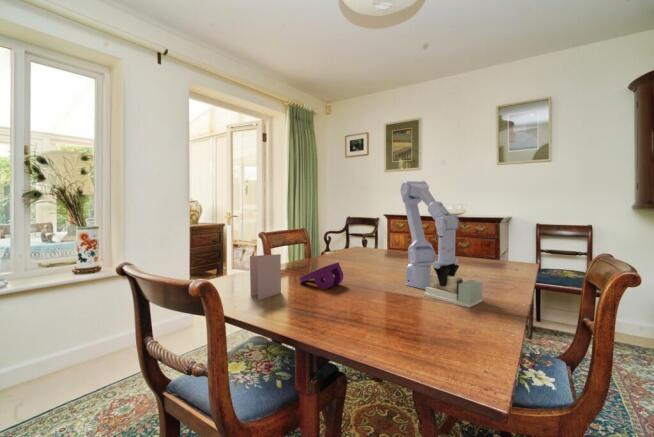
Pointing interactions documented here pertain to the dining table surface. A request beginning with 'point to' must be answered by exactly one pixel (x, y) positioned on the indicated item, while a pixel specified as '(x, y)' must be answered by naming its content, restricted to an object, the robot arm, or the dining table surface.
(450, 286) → the beige and brown block
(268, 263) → the greeting card
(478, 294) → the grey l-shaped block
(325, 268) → the mounting bracket
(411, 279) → the robot arm
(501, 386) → the dining table surface
